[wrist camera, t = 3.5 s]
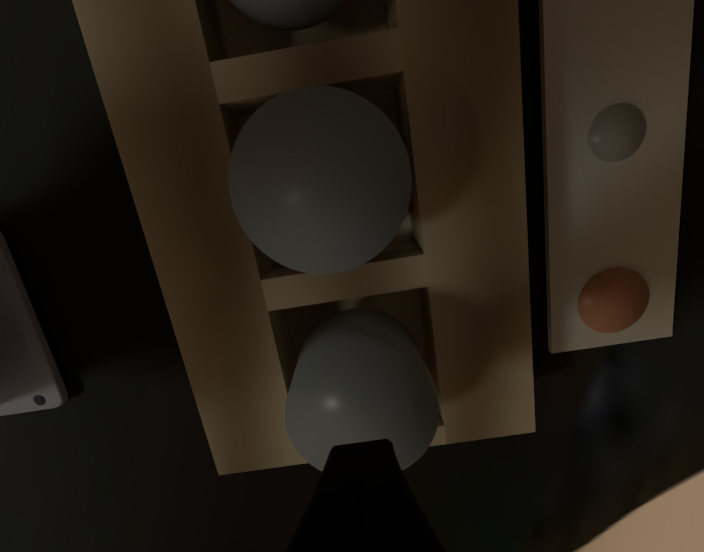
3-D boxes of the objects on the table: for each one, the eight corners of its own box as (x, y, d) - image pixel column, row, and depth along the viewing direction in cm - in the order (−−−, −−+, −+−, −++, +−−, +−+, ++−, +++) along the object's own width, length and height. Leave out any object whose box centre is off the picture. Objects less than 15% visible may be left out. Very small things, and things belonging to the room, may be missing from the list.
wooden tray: (240, 424, 17) (218, 475, 14) (93, -106, 12) (12, -193, 9) (503, 387, 17) (535, 431, 14) (467, -183, 12) (506, -301, 9)
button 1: (311, 425, 14) (301, 489, 11) (287, 318, 13) (269, 359, 10) (426, 409, 14) (446, 470, 11) (413, 299, 13) (430, 335, 10)
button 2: (274, 260, 13) (251, 286, 10) (243, 120, 12) (207, 103, 9) (405, 239, 12) (421, 259, 10) (387, 95, 11) (399, 69, 8)
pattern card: (548, 350, 16) (553, 354, 16) (534, -135, 12) (540, -146, 12) (666, 332, 16) (674, 337, 16) (697, -168, 12) (709, -179, 11)
